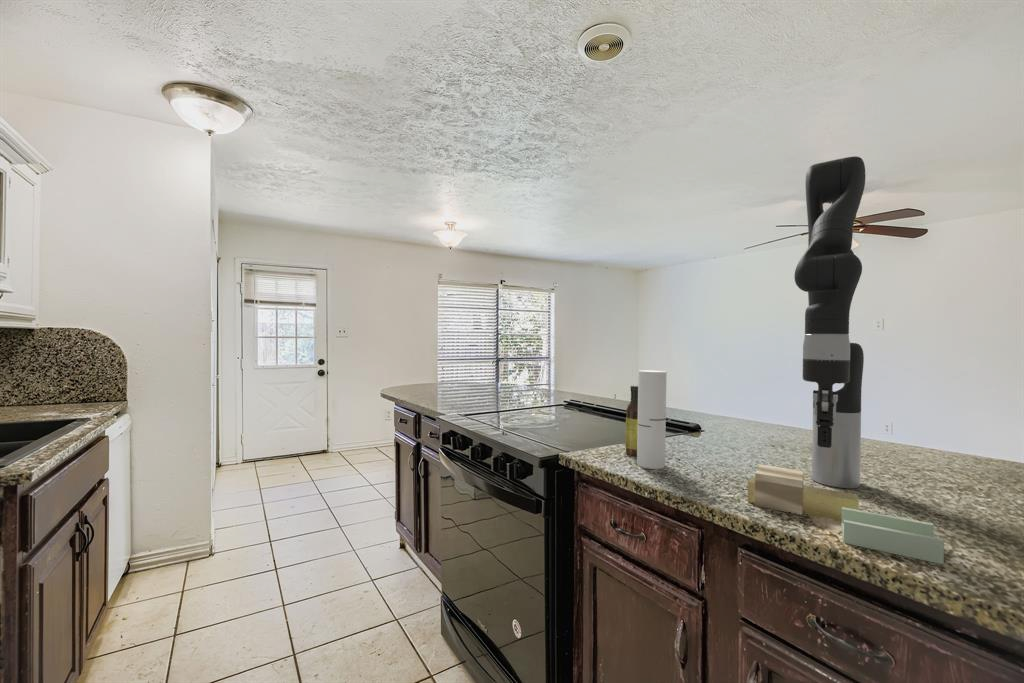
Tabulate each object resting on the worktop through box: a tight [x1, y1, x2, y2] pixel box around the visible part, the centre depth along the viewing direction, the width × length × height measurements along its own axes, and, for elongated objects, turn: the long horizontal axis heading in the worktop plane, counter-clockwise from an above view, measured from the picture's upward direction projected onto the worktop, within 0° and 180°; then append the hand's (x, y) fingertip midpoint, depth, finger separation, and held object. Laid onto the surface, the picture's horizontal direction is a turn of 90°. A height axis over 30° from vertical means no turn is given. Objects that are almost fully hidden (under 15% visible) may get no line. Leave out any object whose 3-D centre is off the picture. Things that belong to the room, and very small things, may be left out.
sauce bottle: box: [624, 385, 638, 457], centre depth 129 cm, size 7×6×20 cm
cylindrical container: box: [636, 369, 668, 470], centre depth 118 cm, size 7×7×25 cm
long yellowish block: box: [747, 476, 860, 522], centre depth 88 cm, size 4×18×4 cm, turn 55°
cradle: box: [840, 507, 945, 565], centre depth 73 cm, size 8×12×4 cm, turn 55°
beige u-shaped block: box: [754, 463, 804, 516], centre depth 90 cm, size 8×8×7 cm
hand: (824, 446), depth 86 cm, fingers closed
